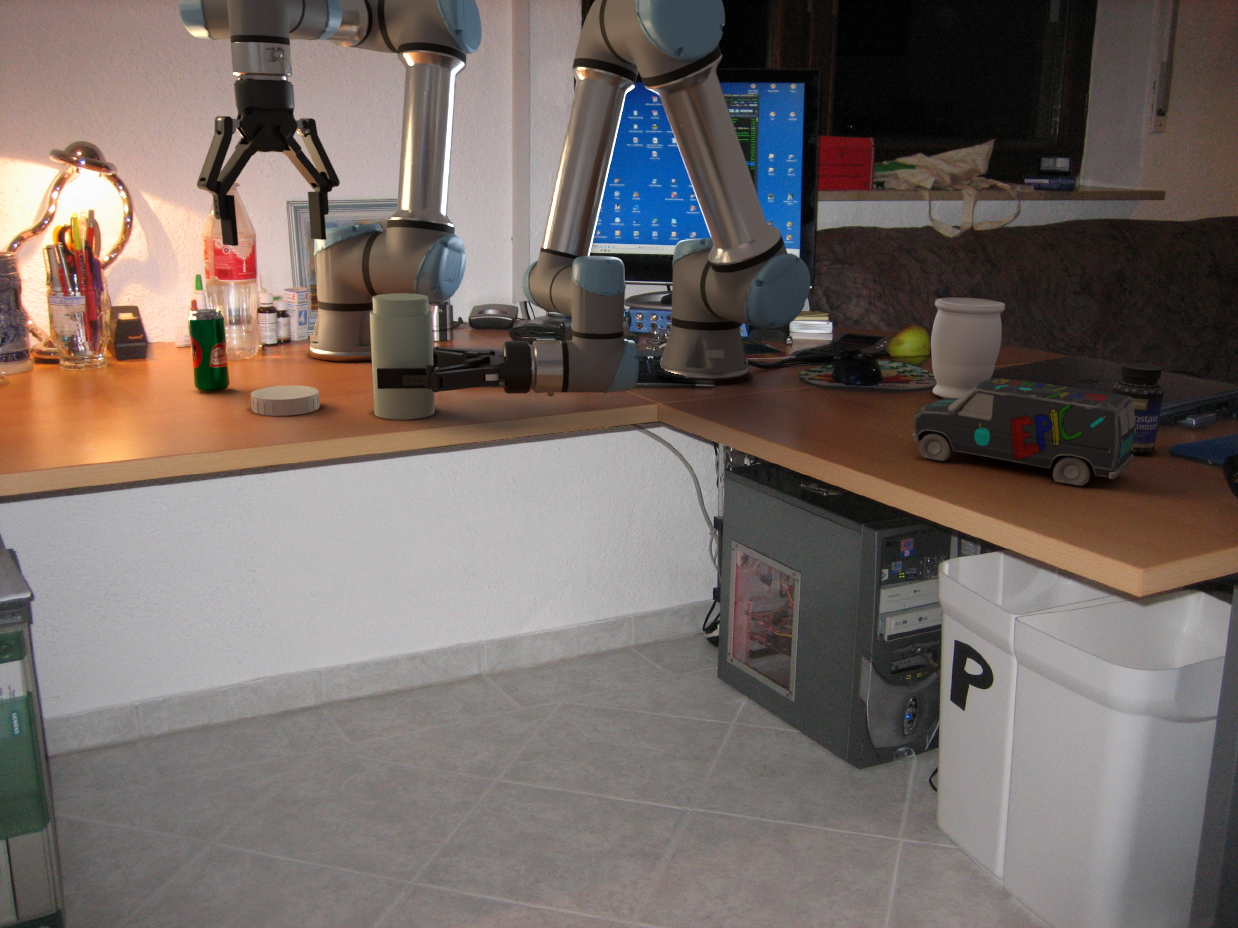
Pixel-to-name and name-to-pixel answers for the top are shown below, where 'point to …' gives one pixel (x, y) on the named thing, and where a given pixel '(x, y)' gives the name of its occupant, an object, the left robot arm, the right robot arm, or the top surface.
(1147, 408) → the pill bottle
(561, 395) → the top surface
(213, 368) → the soda can
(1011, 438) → the toy van
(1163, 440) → the top surface
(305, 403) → the lid
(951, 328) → the jar
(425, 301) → the screw-top jar
